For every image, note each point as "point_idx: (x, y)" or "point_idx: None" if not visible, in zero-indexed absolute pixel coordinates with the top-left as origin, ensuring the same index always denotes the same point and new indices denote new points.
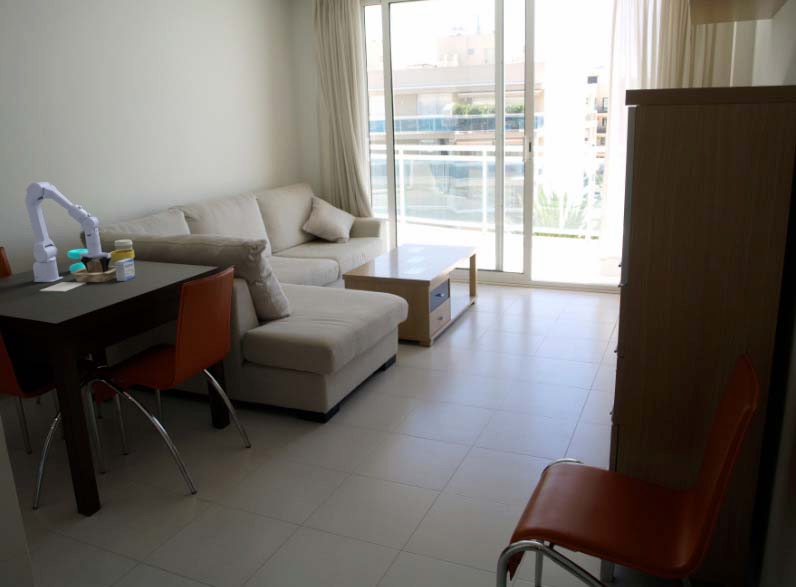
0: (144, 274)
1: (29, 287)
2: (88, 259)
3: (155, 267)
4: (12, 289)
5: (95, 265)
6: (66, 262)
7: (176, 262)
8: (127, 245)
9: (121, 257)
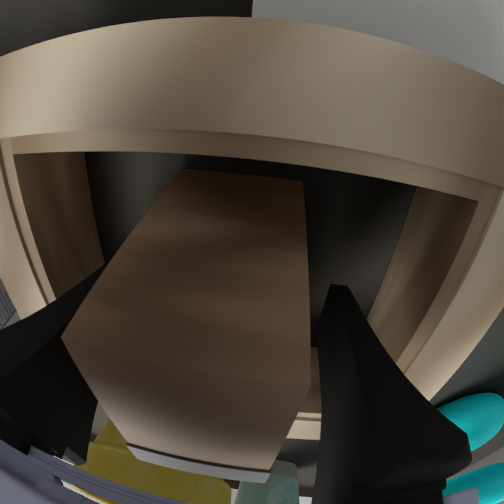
0: (15, 316)
1: None
2: (338, 483)
3: (96, 413)
4: None
5: (96, 298)
6: (493, 452)
7: (93, 437)
8: None
9: (94, 461)
